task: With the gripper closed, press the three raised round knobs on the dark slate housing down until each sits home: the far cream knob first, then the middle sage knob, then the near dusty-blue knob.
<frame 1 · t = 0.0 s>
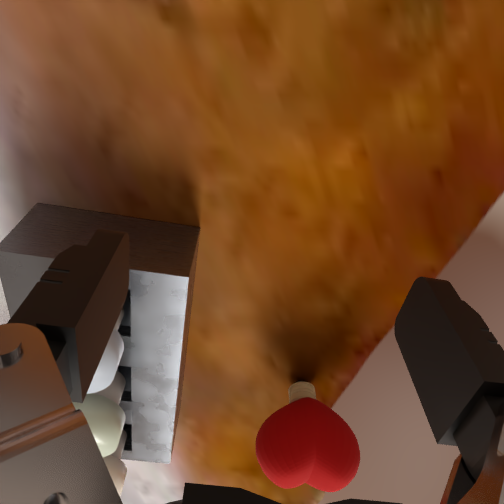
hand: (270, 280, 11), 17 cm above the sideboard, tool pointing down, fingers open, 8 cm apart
red heart: (300, 381, 42), on the sideboard
housing: (123, 326, 37), on the sideboard
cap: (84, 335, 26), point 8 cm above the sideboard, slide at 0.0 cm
cap mid: (92, 407, 30), point 8 cm above the sideboard, slide at 0.0 cm
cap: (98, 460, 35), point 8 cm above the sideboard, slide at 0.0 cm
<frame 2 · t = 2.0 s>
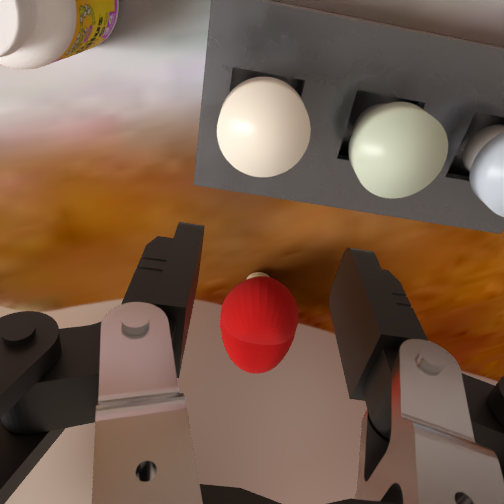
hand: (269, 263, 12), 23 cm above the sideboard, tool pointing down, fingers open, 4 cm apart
red heart: (258, 276, 42), on the sideboard
housing: (360, 108, 32), on the sideboard
cap mid: (389, 143, 25), point 8 cm above the sideboard, slide at 0.0 cm
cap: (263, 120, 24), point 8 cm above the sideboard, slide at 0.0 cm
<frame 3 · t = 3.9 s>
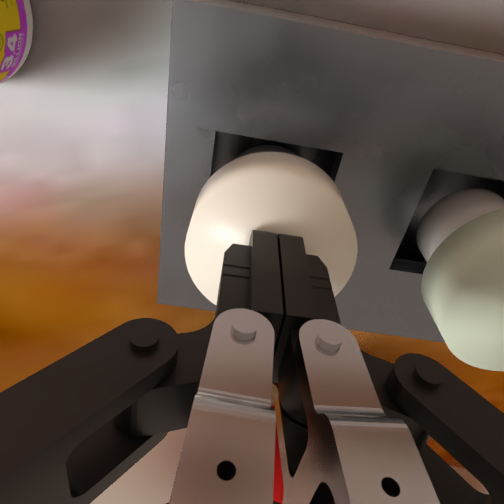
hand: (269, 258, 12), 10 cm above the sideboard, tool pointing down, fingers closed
red heart: (260, 380, 31), on the sideboard
housing: (415, 173, 21), on the sideboard
cap mid: (492, 265, 14), point 8 cm above the sideboard, slide at 0.0 cm
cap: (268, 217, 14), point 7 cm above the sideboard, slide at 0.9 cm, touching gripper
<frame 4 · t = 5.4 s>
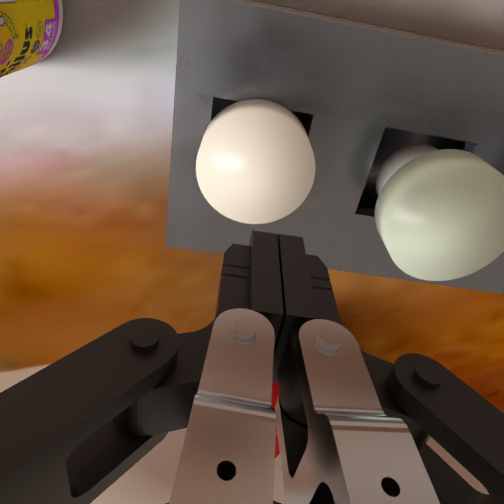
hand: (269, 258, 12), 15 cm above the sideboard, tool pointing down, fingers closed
housing: (381, 141, 25), on the sideboard
cap mid: (430, 201, 18), point 8 cm above the sideboard, slide at 0.0 cm
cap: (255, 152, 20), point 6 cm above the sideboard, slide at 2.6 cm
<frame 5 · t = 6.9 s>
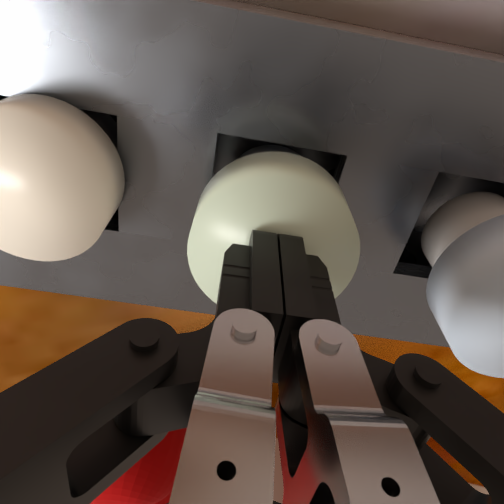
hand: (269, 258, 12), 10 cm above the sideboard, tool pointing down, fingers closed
red heart: (155, 369, 30), on the sideboard
housing: (267, 149, 20), on the sideboard
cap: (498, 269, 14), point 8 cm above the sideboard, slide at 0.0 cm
cap mid: (271, 217, 14), point 7 cm above the sideboard, slide at 1.2 cm, touching gripper
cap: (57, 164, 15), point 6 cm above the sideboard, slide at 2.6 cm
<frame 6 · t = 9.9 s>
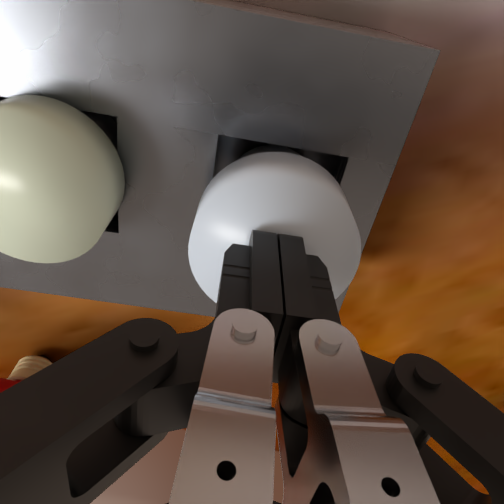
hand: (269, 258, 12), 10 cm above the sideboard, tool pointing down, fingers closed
red heart: (44, 357, 29), on the sideboard
housing: (106, 122, 19), on the sideboard
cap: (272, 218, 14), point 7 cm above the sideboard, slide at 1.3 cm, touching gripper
cap mid: (57, 166, 15), point 6 cm above the sideboard, slide at 2.6 cm
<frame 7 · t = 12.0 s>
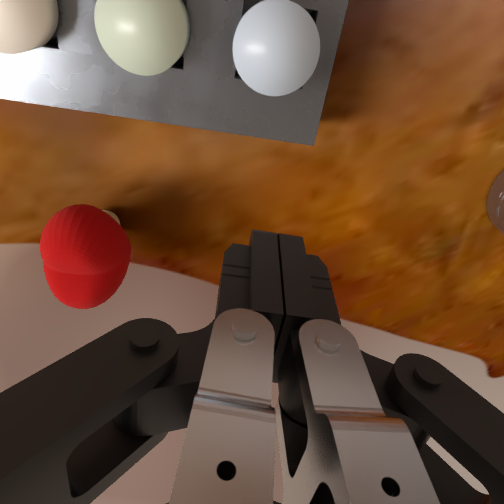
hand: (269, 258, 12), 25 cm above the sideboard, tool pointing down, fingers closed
red heart: (109, 216, 40), on the sideboard
housing: (165, 17, 30), on the sideboard
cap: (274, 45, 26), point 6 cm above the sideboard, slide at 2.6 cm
cap mid: (149, 23, 25), point 6 cm above the sideboard, slide at 2.6 cm
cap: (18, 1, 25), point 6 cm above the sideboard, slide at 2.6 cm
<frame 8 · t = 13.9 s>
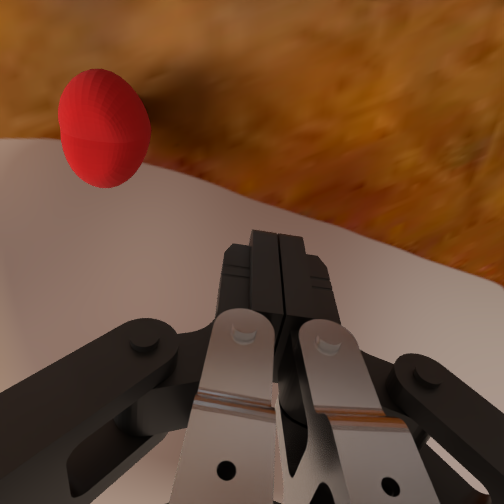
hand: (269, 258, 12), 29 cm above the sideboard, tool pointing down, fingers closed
red heart: (127, 108, 38), on the sideboard
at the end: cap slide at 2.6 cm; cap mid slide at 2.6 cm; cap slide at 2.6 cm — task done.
